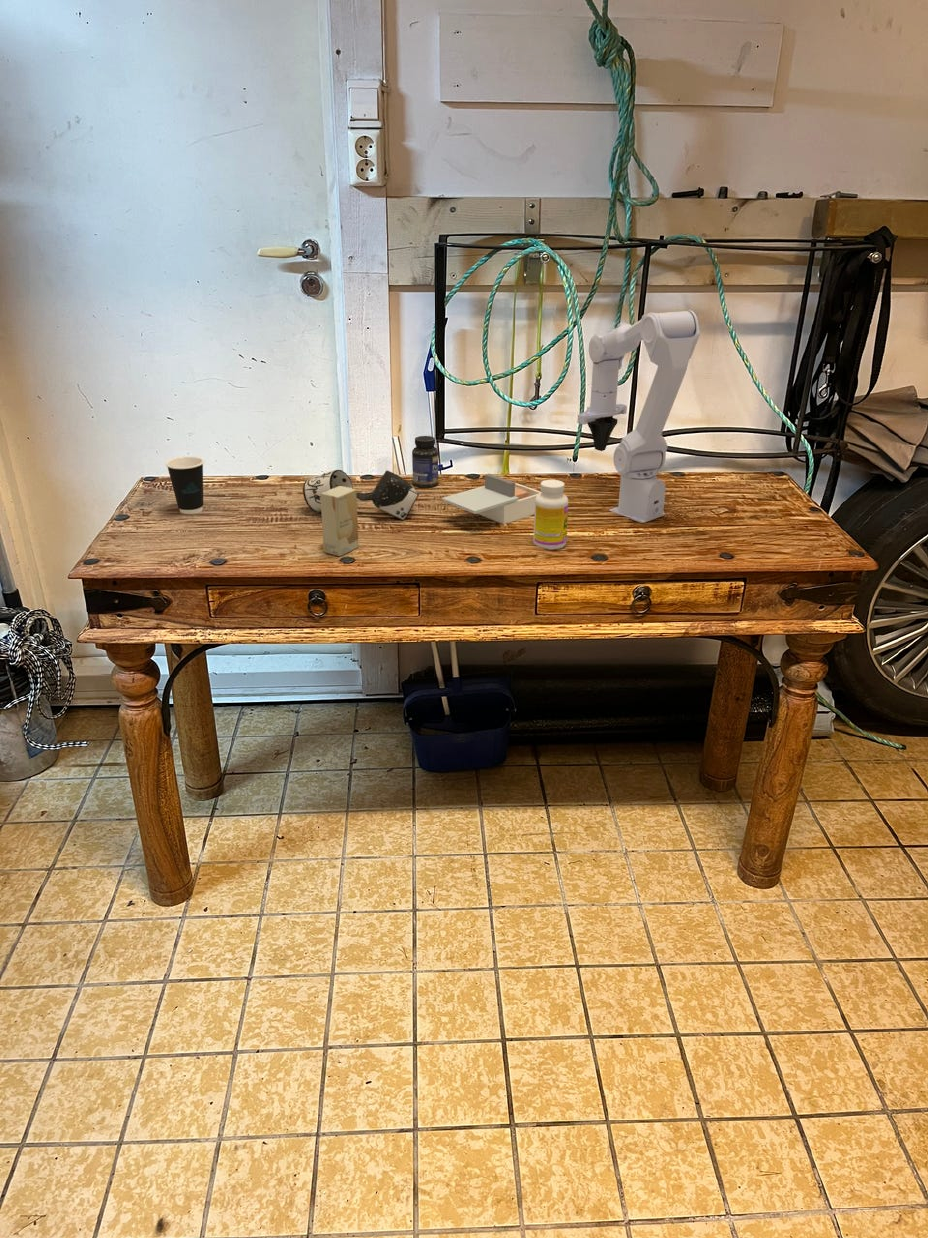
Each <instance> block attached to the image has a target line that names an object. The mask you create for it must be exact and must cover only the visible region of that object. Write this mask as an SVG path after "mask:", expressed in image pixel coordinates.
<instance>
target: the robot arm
mask: <svg viewBox="0 0 928 1238" xmlns="http://www.w3.org/2000/svg"><path fill="white" fill-rule="evenodd" d="M699 325H700V324H699V319H698V317H697V315H696V313H695V312H694V311H693V310H690V309H687V310H683V311H667V312H648V313H646V314H643V315H642V316H641V319H640V320H638V321H637V322H635V323H634V324H630V323H627V322H619V323H618V324H617V327H616V328H614V329H609V330H607V332H606V333H605V334H594V335H593V336H592V337H591V338H590V340H589V342H588V354H589V358H590V360H591V361H592V372H591V387H590V405H589V406H586V408H587V409H586V410H585V411H583V412H582V413H579V414H577V421H576V422H577V424H580V425H587V426H588V427H589V430H590V433H591V436H592V440H593V446H594V450H596V451H598V452H599V451H600V452H603V451H605V450H606V448H607V446H608V443H609V440H610V438H611V437H610V436H611V435H612V432H613V430H614V429H615V427H616V426H617V424H618V418H615V417H614V416H617V415H625V414H627V408H628V405H626V404H623V403H618V404H617V398H618V397H617V395H618V385H619V371H620V369H621V368H622V364H623V363H622V362H623V360H624V358H625V356H626V355H627V354H629V353H631V352H633V351H635V350H636V349H637V348H639V345H640V342H641V341H643V343H644V347H645V349H646V351H647V355H648V357H649V360H650V362H651V363H653V364H655V365H656V366H657V368H656V372H655V374H654V377H653V380H652V383H651V386H650V388H649V390H648V393H647V396H646V398H645V402H644V404H643V407H642V410H641V413H640V416H639V418H638V421H637V423H636V427H635V428H634V430H632V431H630V432H629V433H628V434H625V436H623V437H622V438H621V441H620V443H619V444H618V445H617V446H616V447H615V450H614V452H613V458H612V459H613V465H614V468H615V470H616V472H617V473H619V474H620V483H619V484H620V485H619V493H618V494H619V495H618V506H616V507H613V508H611V509H609V511H610V512H612V513H615V514H618V515H620V516H623V517H626V518H628V519H629V520H632V521H635V522H637V523H640V524H641V523H642V524H644V523H647V522H650V521H653V520H656V519H657V518H660V517H663V516H666V512H664V511H665V510H664V509H665V500H666V490H667V489H666V484H665V482H664V481H663V480H662V479H660V478H658V477H657V475H658V476H659V471H660V470H662V469H663V467H664V465H665V463H666V457H667V456H666V455H667V450H668V448H669V447H668V446H669V445H668V443H667V440H666V439H665V437H664V436H663V435H662V434H663V431H664V429H665V426H666V423H667V421H668V419H669V416H670V413H671V411H672V408H673V406H674V403H675V400H676V398H677V396H678V394H679V390H680V388H681V385H682V383H683V380H684V378H685V375H686V373H687V370H688V365H689V361H690V359H692V356H693V353H694V351H695V348H696V346H697V343H698V342H699V339H700V335H701V332H700V326H699Z"/></svg>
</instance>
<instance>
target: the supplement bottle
mask: <svg viewBox="0 0 928 1238" xmlns="http://www.w3.org/2000/svg"><path fill="white" fill-rule="evenodd" d="M539 488H540V492H541V493H540V494H539V495H537V497H536V498H535V513H534V517H533V519H534V521H533V536H532V537H533V545H535V546H536V547H539V548H542V549H545V550H552V551H553V550H559V549H562V548H564V547H565V546H566V545H567V537H568V535H567V534H568V519H569V517H568V516H569V498H568V497H567V495H566V494H564V491H565V482H564V481H561V480H558V479H545V480H542V481H540V486H539Z"/></svg>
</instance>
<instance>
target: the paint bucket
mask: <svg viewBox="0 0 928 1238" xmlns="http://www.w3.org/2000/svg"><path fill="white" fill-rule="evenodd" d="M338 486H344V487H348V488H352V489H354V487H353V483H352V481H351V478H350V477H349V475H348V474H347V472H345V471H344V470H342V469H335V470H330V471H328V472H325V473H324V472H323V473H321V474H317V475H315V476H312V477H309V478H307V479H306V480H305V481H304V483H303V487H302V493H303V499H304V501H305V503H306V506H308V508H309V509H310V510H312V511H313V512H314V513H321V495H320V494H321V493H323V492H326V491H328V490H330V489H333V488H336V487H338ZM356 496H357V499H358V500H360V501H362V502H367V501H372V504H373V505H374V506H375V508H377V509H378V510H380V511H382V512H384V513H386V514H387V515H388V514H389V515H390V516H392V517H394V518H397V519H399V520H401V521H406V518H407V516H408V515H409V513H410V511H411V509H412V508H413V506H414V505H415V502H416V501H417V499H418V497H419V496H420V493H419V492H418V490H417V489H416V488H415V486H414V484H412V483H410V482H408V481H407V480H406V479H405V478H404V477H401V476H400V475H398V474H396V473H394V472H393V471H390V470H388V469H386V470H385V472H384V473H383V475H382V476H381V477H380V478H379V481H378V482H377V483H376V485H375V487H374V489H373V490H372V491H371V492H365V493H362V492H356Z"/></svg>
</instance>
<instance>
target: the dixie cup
mask: <svg viewBox="0 0 928 1238" xmlns="http://www.w3.org/2000/svg"><path fill="white" fill-rule="evenodd" d="M204 464H205V460H204V459H203V458H201V457H198V456H180V457H175V458H171V459H169V460H167V461H166V462H165V466H166V467H167V470H168V474H169V478H170V482H171V486H172V489H173V493H174V497H175V501H176V504H177V505H176V506H177V508H178V509H179V512H180V513H181V514H183V515H195V514H198V513H201V512H202V511H203V507H204Z"/></svg>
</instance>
